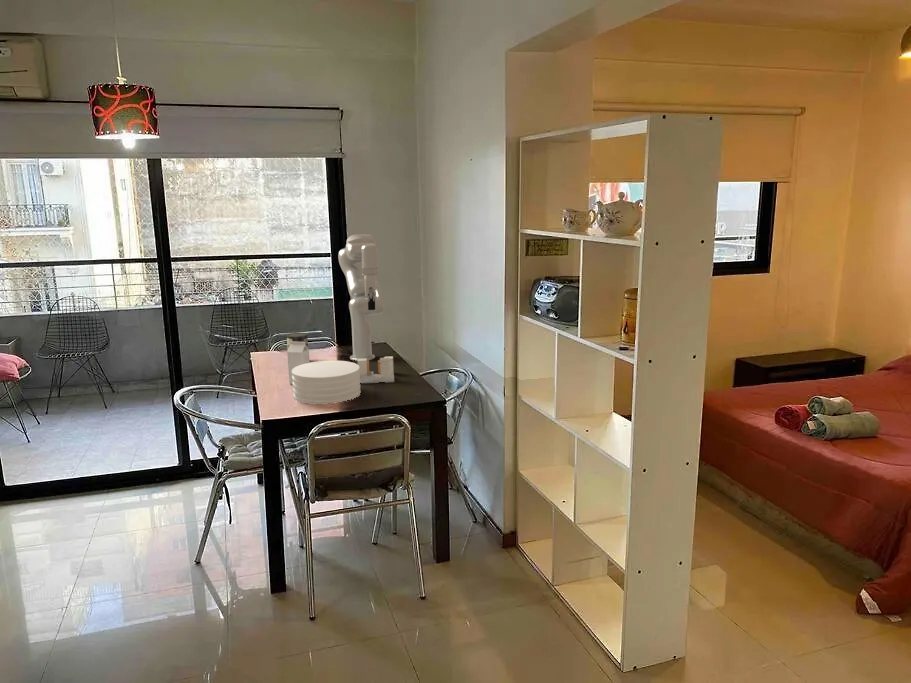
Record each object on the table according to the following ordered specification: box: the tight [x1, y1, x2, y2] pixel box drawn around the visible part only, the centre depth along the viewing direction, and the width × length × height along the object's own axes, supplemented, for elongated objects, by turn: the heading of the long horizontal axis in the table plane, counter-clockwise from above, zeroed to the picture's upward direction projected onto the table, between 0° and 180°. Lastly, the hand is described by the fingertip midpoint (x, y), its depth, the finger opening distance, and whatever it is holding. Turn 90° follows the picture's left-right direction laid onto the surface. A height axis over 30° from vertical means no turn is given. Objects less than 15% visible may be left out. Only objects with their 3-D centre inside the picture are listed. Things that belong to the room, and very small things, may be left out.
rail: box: [360, 357, 395, 384], centre depth 307 cm, size 8×24×10 cm, turn 96°
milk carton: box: [287, 341, 311, 386], centre depth 304 cm, size 7×7×19 cm
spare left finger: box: [383, 356, 395, 374], centre depth 319 cm, size 4×5×8 cm
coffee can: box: [286, 332, 309, 350], centre depth 343 cm, size 10×10×14 cm
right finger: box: [356, 358, 370, 376], centre depth 307 cm, size 4×5×8 cm
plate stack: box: [291, 360, 362, 405], centre depth 287 cm, size 28×28×12 cm
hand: (371, 308), depth 319 cm, fingers open, 9 cm apart
